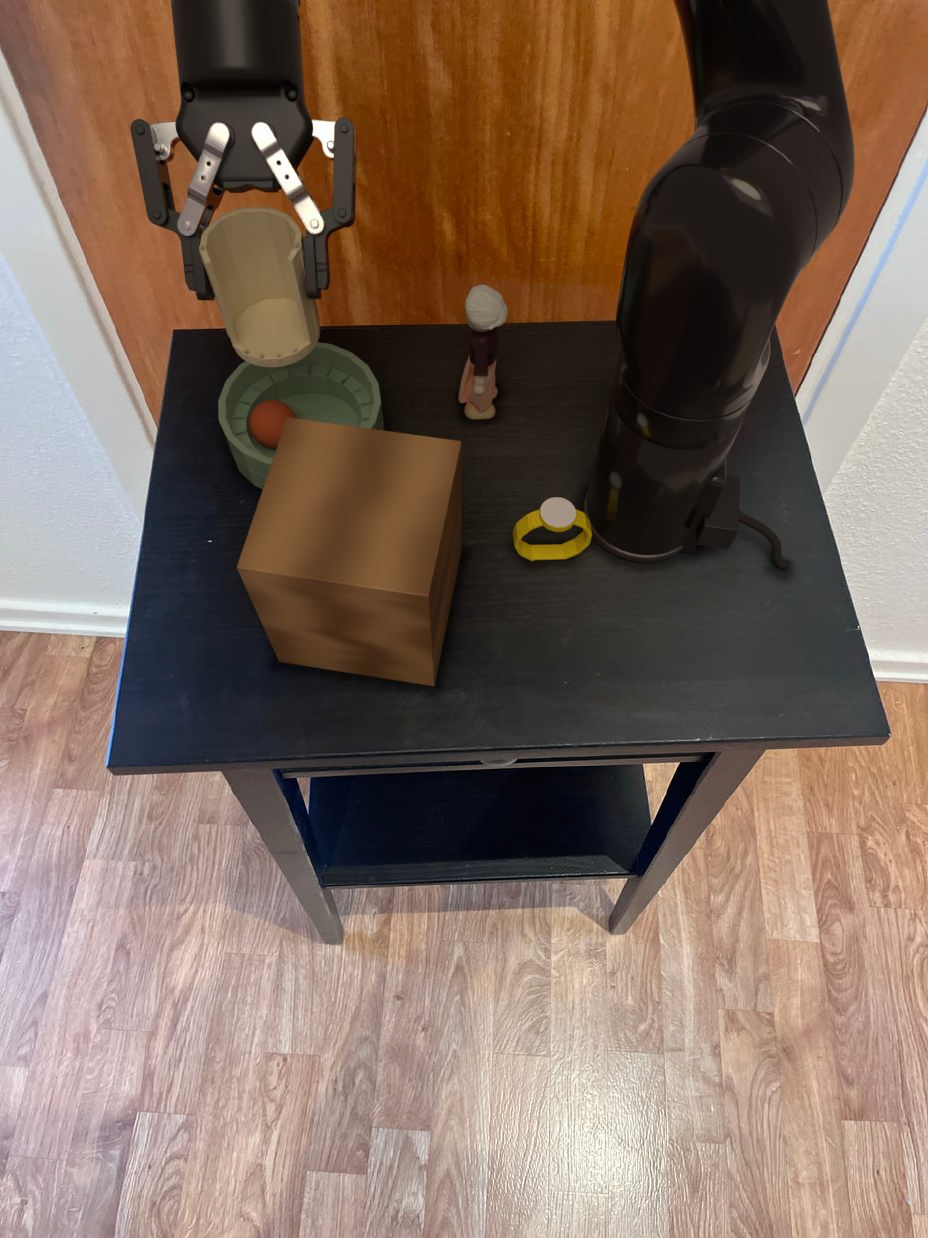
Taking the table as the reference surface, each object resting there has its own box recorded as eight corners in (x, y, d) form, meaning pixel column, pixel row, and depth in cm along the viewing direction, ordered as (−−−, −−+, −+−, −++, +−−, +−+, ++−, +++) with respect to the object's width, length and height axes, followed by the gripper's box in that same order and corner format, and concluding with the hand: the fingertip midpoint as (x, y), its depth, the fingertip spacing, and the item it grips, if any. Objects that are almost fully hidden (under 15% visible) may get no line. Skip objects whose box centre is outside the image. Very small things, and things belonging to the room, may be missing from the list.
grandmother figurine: (456, 373, 78) (456, 257, 67) (498, 372, 79) (505, 256, 67) (460, 440, 75) (460, 330, 64) (504, 438, 75) (511, 328, 64)
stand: (461, 551, 70) (461, 440, 57) (434, 686, 64) (428, 596, 52) (317, 530, 71) (286, 416, 58) (278, 662, 65) (236, 567, 53)
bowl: (398, 392, 77) (394, 351, 73) (366, 512, 71) (360, 476, 67) (256, 373, 78) (244, 332, 74) (213, 490, 72) (197, 453, 68)
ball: (281, 395, 70) (309, 407, 73) (242, 393, 71) (271, 404, 75) (275, 445, 70) (303, 454, 73) (236, 441, 71) (266, 450, 75)
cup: (322, 299, 63) (304, 204, 56) (319, 366, 60) (299, 276, 53) (234, 302, 63) (204, 207, 56) (226, 369, 60) (194, 279, 53)
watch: (513, 571, 69) (518, 530, 64) (510, 541, 70) (514, 499, 65) (587, 565, 69) (598, 524, 64) (582, 536, 70) (592, 494, 65)
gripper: (91, -19, 48) (132, 299, 53) (349, -21, 48) (364, 295, 54) (136, 26, 55) (168, 303, 60) (360, 24, 55) (373, 300, 61)
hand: (260, 298), depth 57 cm, fingers closed on cup, 6 cm apart
